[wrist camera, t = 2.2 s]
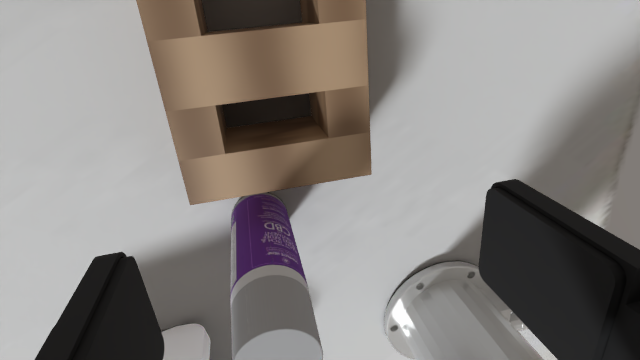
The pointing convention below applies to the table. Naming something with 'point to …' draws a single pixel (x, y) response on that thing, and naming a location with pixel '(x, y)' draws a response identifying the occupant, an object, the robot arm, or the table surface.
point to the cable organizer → (186, 343)
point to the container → (269, 286)
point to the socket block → (262, 96)
